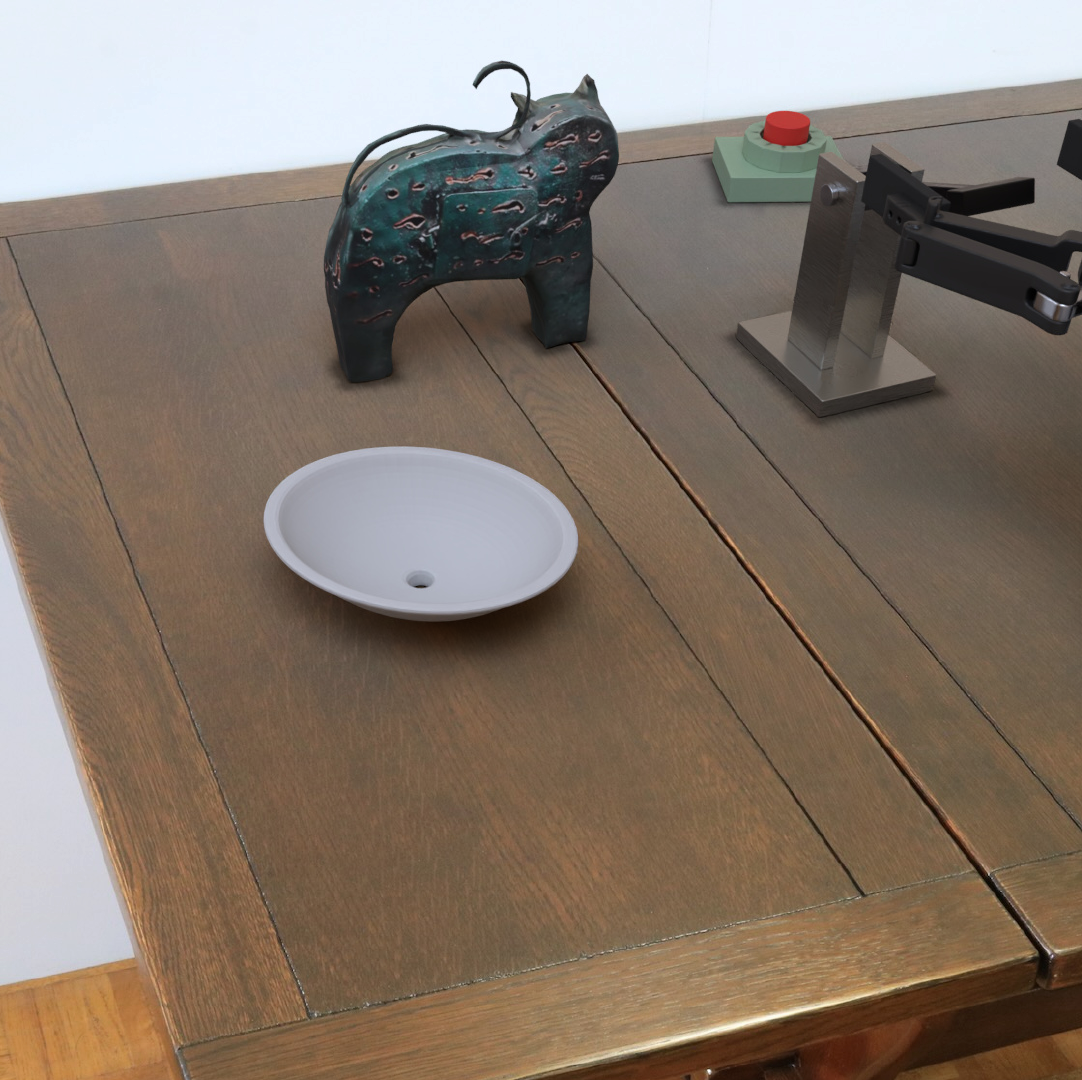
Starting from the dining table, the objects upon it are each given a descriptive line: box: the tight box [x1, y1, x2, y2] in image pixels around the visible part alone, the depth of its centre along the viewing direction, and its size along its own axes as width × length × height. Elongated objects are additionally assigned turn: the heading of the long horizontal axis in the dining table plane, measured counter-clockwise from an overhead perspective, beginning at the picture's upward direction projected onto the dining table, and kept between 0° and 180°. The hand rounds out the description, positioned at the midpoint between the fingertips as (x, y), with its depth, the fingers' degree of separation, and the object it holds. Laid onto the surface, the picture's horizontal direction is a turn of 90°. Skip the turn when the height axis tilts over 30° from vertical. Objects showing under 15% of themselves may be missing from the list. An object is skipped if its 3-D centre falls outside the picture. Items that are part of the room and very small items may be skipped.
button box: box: [711, 119, 845, 203], centre depth 126 cm, size 10×8×4 cm
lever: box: [854, 165, 1036, 217], centre depth 92 cm, size 14×5×2 cm, turn 22°
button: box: [763, 110, 811, 146], centre depth 125 cm, size 4×4×2 cm
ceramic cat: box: [323, 60, 620, 383], centre depth 100 cm, size 20×6×20 cm, turn 110°
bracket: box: [735, 141, 937, 418], centre depth 101 cm, size 11×9×15 cm
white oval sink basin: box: [263, 445, 579, 622], centre depth 85 cm, size 18×14×5 cm
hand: (971, 159), depth 87 cm, fingers open, 13 cm apart
